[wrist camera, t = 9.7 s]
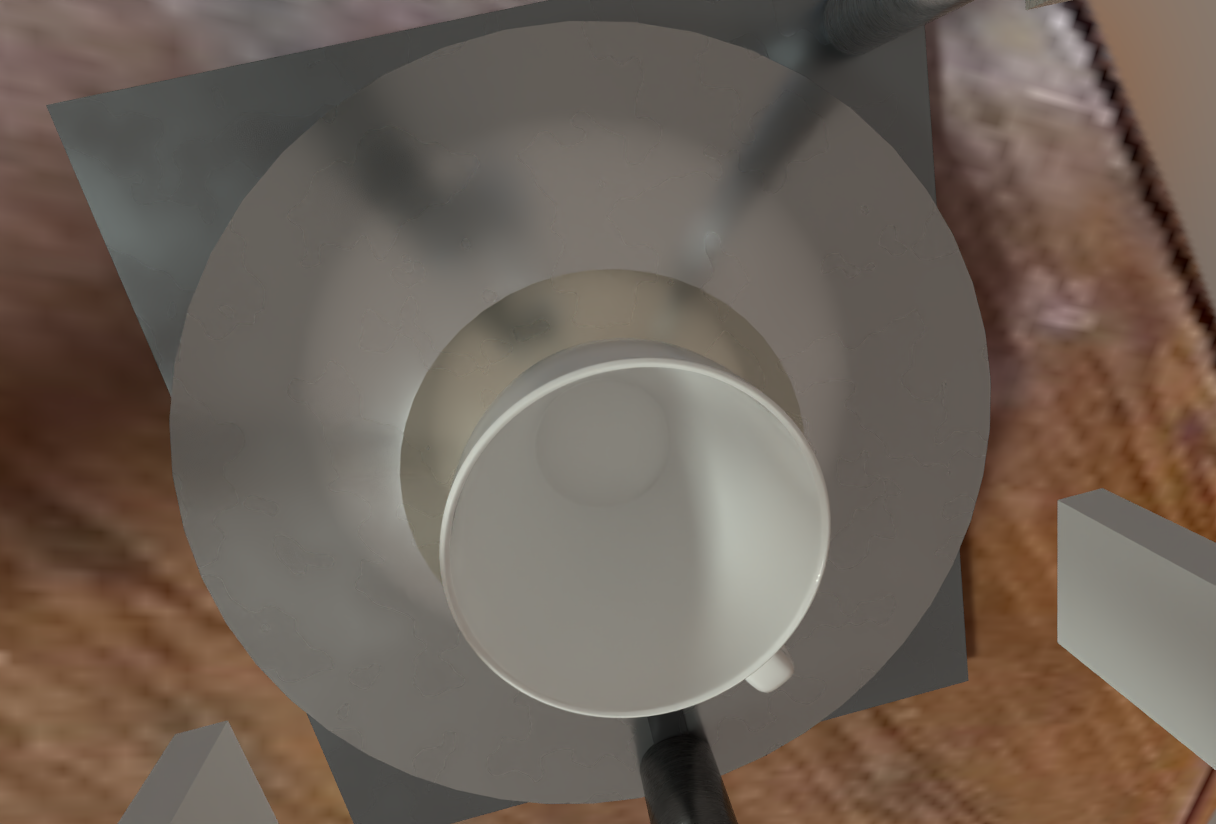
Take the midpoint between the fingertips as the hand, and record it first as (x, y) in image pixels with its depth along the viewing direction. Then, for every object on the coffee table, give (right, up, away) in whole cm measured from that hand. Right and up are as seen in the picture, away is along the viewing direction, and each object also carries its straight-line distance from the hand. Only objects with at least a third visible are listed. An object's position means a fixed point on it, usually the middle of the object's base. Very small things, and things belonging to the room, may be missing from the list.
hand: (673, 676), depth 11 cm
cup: (0, +2, +9) cm, 10 cm away
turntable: (-1, +3, +11) cm, 12 cm away
